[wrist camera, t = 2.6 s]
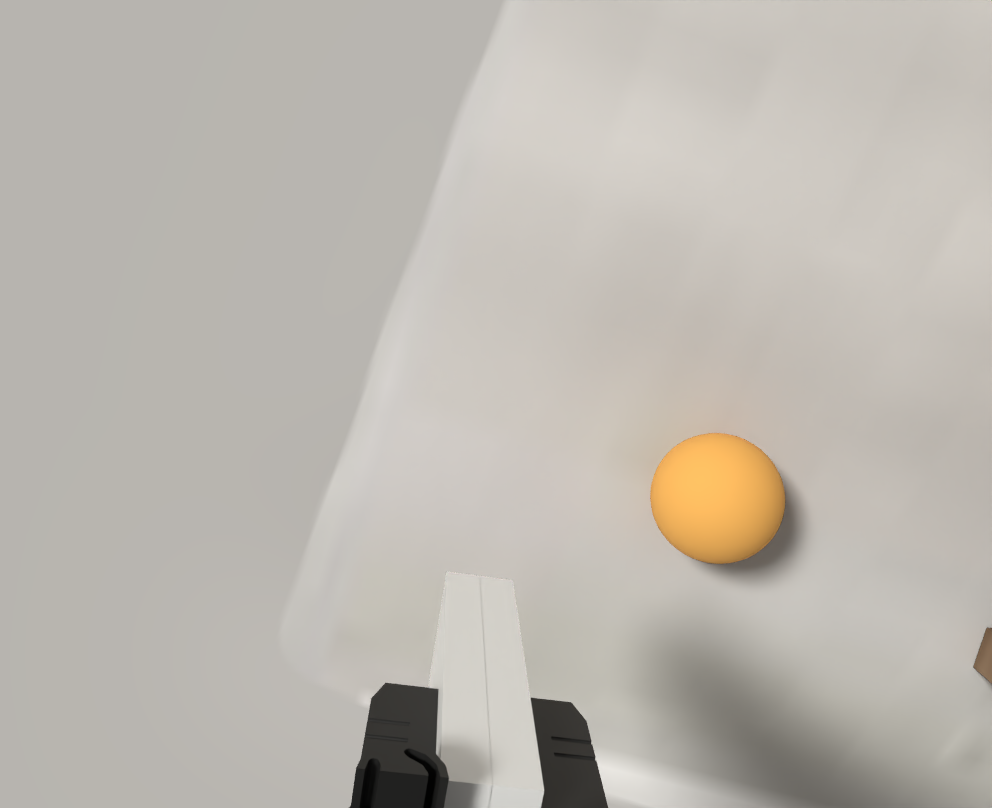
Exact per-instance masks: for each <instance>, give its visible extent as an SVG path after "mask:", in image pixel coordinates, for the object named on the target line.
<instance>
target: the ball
mask: <svg viewBox="0 0 992 808" xmlns="http://www.w3.org/2000/svg"><path fill="white" fill-rule="evenodd" d="M650 499H651V508H652V512H653V516H654V519H655V521H656V523H657V525H658V528H659V529H660V531H661V533H662V534H663V535H664V536H665V538H666V539H667V540H668V541H669V542H670V543H671V544H672V545H673V546H674V547H675V548H676V549H678V550H679V551H681V552H682V553H684V554H685V555H687V556H689V557H691V558H693V559H696V560H699V561H702V562H707V563H715V564H724V563H733V562H738V561H741V560H744V559H746V558H749V557H751V556H752V555H754V554H756V553H757V552H759V551H760V550H761V549H763V548H764V547H765V546H766V545H767V544H768V543H769V542H770V541H771V540H772V538H773V537H774V535H775V534H776V532H777V531H778V529H779V527H780V524H781V521H782V518H783V515H784V509H785V492H784V487H783V482H782V479H781V477H780V474H779V472H778V470H777V469H776V467H775V465H774V463H773V462H772V461H771V460H770V458H769V457H768V456H767V455H766V454H765V453H764V452H763V451H762V450H761V449H759V448H758V447H757V446H755V445H754V444H752V443H750V442H749V441H747V440H745V439H742V438H740V437H737V436H733V435H728V434H722V433H709V434H703V435H698V436H695V437H692V438H689V439H687V440H685V441H683V442H681V443H680V444H678V445H677V446H675V447H674V448H673V449H672V450H671V451H670V452H668V453H667V454H666V456H665V457H664V458H663V459H662V461H661V462H660V464H659V466H658V467H657V470H656V472H655V474H654V477H653V481H652V485H651V497H650Z"/></svg>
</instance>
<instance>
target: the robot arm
mask: <svg viewBox="0 0 992 808" xmlns="http://www.w3.org/2000/svg"><path fill="white" fill-rule="evenodd" d="M350 808H608V806H607V801H606V797H605V793H604V790H603V786H602V782H601V778H600V774H599V770H598V766H597V762H596V761H595V754H594V750H593V746H592V745H591V738H590V734H589V730H588V726H587V722H586V720H585V719H584V718H583V716H582V715H581V714H580V713H579V711H578V710H577V709H576V708H575V707H574V705H573V704H572V703H571V702H563V701H554V700H546V699H537V698H530V691H529V685H528V678H527V671H526V665H525V658H524V651H523V645H522V638H521V631H520V624H519V618H518V611H517V604H516V598H515V591H514V584H513V580H509V579H501V578H494V577H486V576H478V575H470V574H463V573H455V572H446V578H445V585H444V591H443V597H442V603H441V609H440V615H439V622H438V628H437V634H436V640H435V646H434V653H433V659H432V665H431V671H430V677H429V688H425V687H417V686H408V685H400V684H391V683H385V684H384V685H383V686H382V687H381V689H380V690H379V691H378V692H377V693H376V694H375V695H374V696H373V697H372V698H371V704H370V710H369V715H368V722H367V727H366V732H365V738H364V744H363V749H362V756H361V760H360V762H359V764H358V766H357V768H356V774H355V781H354V788H353V795H352V803H351V806H350Z"/></svg>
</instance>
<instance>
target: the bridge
mask: <svg viewBox="0 0 992 808" xmlns="http://www.w3.org/2000/svg"><path fill="white" fill-rule="evenodd" d="M974 668H975V669H976V670H977V671H978V672H979V673H980V674H982V675H983V676H984V677H985V678H986V679H987V680H988V681H989V682H991V683H992V628H986V631H985V634H984V637H983V640H982V643H981V646H980V649H979V652H978V655H977V658H976V661H975V664H974Z"/></svg>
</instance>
